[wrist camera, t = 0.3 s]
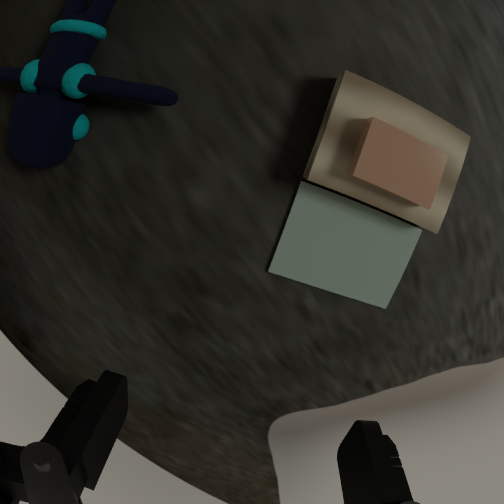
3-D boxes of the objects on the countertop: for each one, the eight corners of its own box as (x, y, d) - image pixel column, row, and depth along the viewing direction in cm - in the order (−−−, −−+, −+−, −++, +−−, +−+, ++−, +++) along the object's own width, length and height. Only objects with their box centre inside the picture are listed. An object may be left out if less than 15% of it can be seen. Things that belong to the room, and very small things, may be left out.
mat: (301, 180, 35) (301, 181, 34) (420, 229, 36) (422, 230, 35) (268, 270, 38) (268, 271, 38) (384, 307, 39) (385, 308, 39)
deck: (337, 78, 31) (345, 70, 27) (453, 136, 32) (470, 137, 28) (302, 176, 34) (307, 179, 31) (422, 225, 35) (437, 234, 32)
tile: (366, 118, 28) (373, 116, 26) (438, 155, 29) (448, 156, 27) (346, 173, 30) (352, 175, 28) (420, 206, 31) (429, 210, 29)
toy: (54, -33, 26) (-13, 144, 34) (27, -53, 18) (-51, 147, 26) (244, -27, 28) (158, 196, 36) (240, -64, 20) (131, 207, 28)
